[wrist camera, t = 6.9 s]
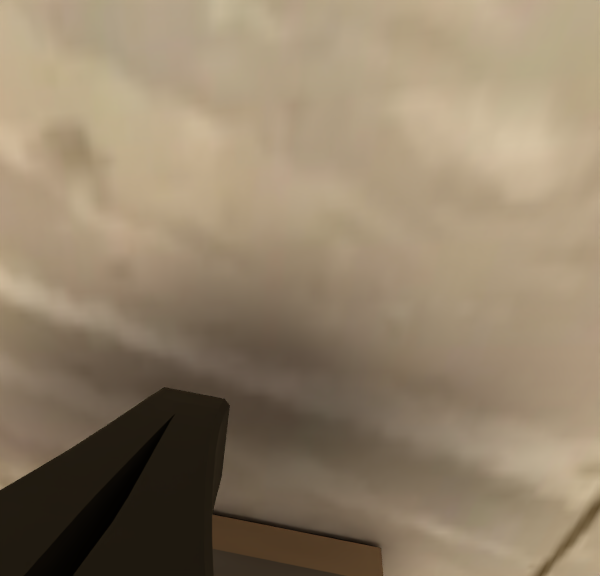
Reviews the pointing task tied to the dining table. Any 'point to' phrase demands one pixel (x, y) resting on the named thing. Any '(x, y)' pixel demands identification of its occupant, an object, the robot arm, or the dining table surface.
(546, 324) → the dining table surface
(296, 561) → the sliding board
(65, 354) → the dining table surface
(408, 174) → the dining table surface
